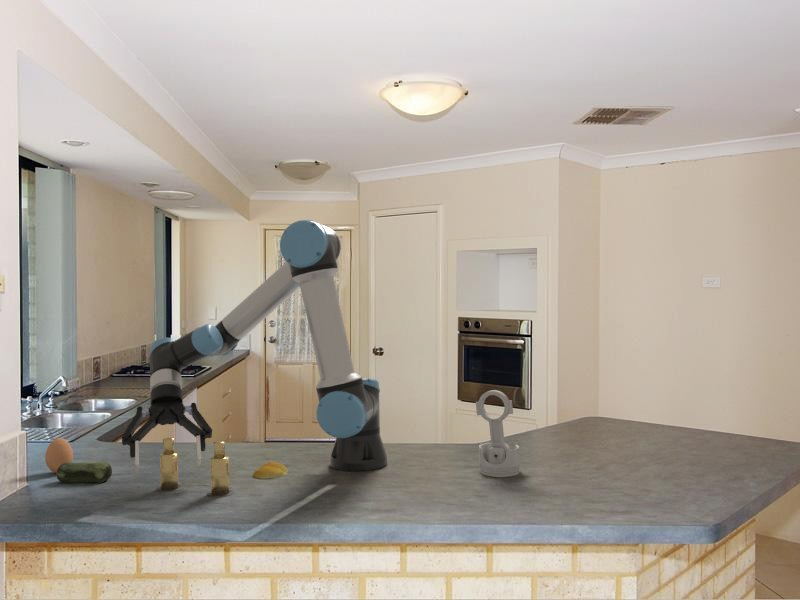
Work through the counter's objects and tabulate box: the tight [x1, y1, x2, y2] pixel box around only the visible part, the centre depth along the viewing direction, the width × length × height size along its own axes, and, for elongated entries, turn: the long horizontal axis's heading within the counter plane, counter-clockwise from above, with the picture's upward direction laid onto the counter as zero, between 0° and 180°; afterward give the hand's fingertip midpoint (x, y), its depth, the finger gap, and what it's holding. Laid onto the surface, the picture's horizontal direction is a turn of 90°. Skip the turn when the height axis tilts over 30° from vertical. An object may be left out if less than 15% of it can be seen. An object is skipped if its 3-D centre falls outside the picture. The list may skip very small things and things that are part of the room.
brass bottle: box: [159, 437, 180, 491], centre depth 159 cm, size 4×4×12 cm
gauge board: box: [155, 482, 235, 498], centre depth 156 cm, size 24×12×1 cm, turn 69°
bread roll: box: [252, 461, 289, 480], centre depth 170 cm, size 8×9×4 cm
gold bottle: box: [209, 440, 231, 496], centre depth 154 cm, size 4×4×12 cm
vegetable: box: [55, 461, 113, 484], centre depth 172 cm, size 14×5×5 cm, turn 89°
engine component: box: [475, 389, 520, 478], centre depth 173 cm, size 11×20×10 cm
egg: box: [44, 437, 74, 474], centre depth 181 cm, size 7×7×9 cm
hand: (168, 465), depth 157 cm, fingers open, 13 cm apart
